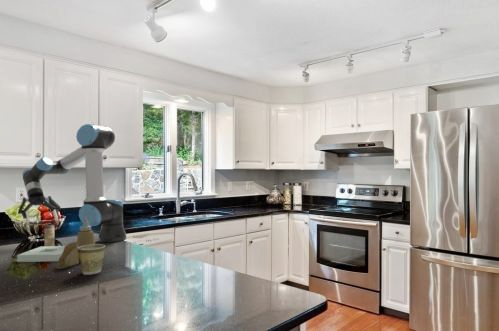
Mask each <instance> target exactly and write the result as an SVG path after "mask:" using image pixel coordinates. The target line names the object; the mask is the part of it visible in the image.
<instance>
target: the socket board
mask: <svg viewBox="0 0 499 331" xmlns="http://www.w3.org/2000/svg"><path fill="white" fill-rule="evenodd" d="M65 246H66V245H54V246H45V245H44V246H38V247H36V248H33V249H30V250H28V251H25V252H22V253H20V254H17V255H16V256H17V259H16V261H17V263H30V262H31V263H35V262H37V263H39V262H58V260H59V258H60V256H61V255H62V253H63V251H64V247H65Z"/></svg>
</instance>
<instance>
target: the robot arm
mask: <svg viewBox="0 0 499 331" xmlns="http://www.w3.org/2000/svg"><path fill="white" fill-rule="evenodd" d="M115 139H116V135H115V132H114V131H113V129H111V128H110V127H108V126H105V125H104V126H103V125H99V124H93V123H85V124H84V125H82V126H80V127H79V129H78V130H77V132H76V141H77V143H78V144H79V145H80V147H78V148H77V149H75V150H74V151H72V152H70V153H69V154H67V155H65V156H63V157H62V158H61V159H59V160H57V161H53V160H52V159H51V158H48V157H46V156H43V157H41V158H39V159H38V160H37V161H36V162H35V164H34V165H33V166H32V167H31V168H30V167H29V168H27V169H25V170H24V171H23V172H22V180H23V183H24V186H25V189H26V190H25V191H26V195H27V198H26V197H25V196H24V197H22V202H21V204H20V206H19V208H18V210H17V214H19V215H20V214H21V215H22V218H23V219H24V220H25V222H26V224H27V225H29V224H30V217H29V213H28V211H29V210H30V209H31V208H32V207H33V206H34V207H35V206H43V207H46V208H47V209H49V210H51V211H52V214H53V217H54V220H55V222H58V220H59V217H58V216H59V211H60V210H61V205H59V204H58V203H57V202H56V201H55V200H53V198H52V197H51V196H50V195H49V196H48V197H47V196H46V197H45V195H44V192H43V188H42V186H41V185H42V184H41V182H40V181H41V179H43V178H44V177H45V176H46V175H66V174H69V172H70V171H71V169H72V168H73V167H75V166H77V165H78V164H81V163H82V162H83V161H85V164H84V165H85V191H86V192H85V193H86V196H85V199H84V200H83V204H82V206H81V207H80V208H79V211H78V216H79V219H80V221H81V223H83V222H84V219H85V218H87V221H88V225H89V226H91V227H92V226H93V227H95V226H99V225H101V227H100V231H99V233H98V237H97V240H98V242H100V243H115V242H123V241H125V240H127V233H126V229H125V227H124V203H123V201H122V200H121V199H107V198H106V197H105V194H104V169H103V168H104V166H103V164H104V163H103V152H104V151H106V150H107V149H109V148H110V147H112V146H113V144H114V143H115ZM26 203H28V204H27V205H26V206H25V204H26Z"/></svg>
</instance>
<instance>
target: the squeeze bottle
mask: <svg viewBox="0 0 499 331" xmlns="http://www.w3.org/2000/svg"><path fill="white" fill-rule="evenodd" d="M76 242H78V244H79V247H80V246H84V245H91V244H96V242H95V233H94V231H93V230H92V226H89V225H88V221H87V218H85V219H84V222H82V226H80V227H79V231H78V232H77V240H76ZM78 256H79V255H78Z"/></svg>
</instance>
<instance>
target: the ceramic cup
mask: <svg viewBox="0 0 499 331" xmlns="http://www.w3.org/2000/svg"><path fill="white" fill-rule="evenodd" d="M77 250H78V255H79V263H80V266H81V267H80V268H81V273H82V274H83V275H89V276H91V275H96V274H99V273H101V272H102V267H103V261H104V256H105V253H106V252H105V251H106V245H105V244H103V243H102V244H101V243H95V244H91V245H84V246H80V247H78V248H77Z"/></svg>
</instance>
